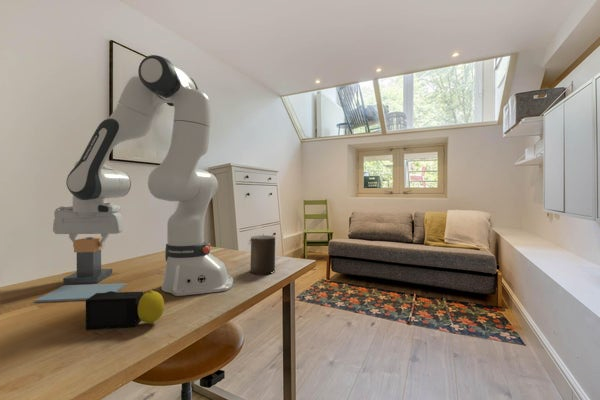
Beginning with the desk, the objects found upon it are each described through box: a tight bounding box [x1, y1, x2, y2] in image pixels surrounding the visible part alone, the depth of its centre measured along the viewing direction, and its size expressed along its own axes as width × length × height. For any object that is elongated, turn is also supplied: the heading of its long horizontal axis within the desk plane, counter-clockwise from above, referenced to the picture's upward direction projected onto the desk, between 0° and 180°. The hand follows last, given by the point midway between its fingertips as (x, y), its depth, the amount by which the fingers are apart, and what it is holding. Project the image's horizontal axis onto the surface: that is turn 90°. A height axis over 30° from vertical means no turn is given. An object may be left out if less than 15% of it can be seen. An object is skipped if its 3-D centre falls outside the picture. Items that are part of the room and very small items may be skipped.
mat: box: [34, 282, 127, 303], centre depth 82 cm, size 18×12×1 cm, turn 100°
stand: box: [62, 236, 113, 285], centre depth 95 cm, size 10×10×14 cm
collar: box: [73, 236, 104, 253], centre depth 94 cm, size 6×6×4 cm
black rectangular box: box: [85, 291, 144, 331], centre depth 64 cm, size 10×5×7 cm, turn 99°
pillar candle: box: [250, 233, 276, 275], centre depth 109 cm, size 10×10×15 cm
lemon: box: [137, 289, 165, 325], centre depth 64 cm, size 6×6×8 cm
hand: (89, 246), depth 95 cm, fingers closed on collar, 6 cm apart
